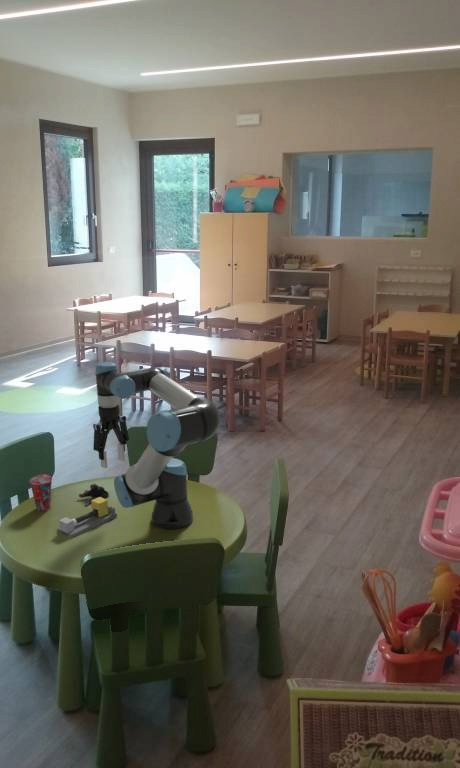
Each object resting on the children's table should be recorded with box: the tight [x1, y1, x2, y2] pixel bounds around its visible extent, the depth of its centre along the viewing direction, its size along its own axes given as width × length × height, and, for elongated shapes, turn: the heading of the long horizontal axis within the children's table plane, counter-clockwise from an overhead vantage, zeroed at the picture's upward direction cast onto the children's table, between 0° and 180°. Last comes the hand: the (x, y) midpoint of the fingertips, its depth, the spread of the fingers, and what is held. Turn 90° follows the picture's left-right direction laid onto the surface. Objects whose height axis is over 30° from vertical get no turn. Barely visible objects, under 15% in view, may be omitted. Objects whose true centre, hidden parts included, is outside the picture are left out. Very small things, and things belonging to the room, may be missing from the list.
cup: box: [28, 473, 53, 512], centre depth 263 cm, size 9×8×12 cm
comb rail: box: [56, 505, 118, 539], centre depth 251 cm, size 21×8×5 cm, turn 139°
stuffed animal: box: [78, 482, 110, 507], centre depth 273 cm, size 12×10×12 cm
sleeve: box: [90, 497, 109, 517], centre depth 255 cm, size 4×4×6 cm
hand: (112, 463), depth 256 cm, fingers open, 8 cm apart
